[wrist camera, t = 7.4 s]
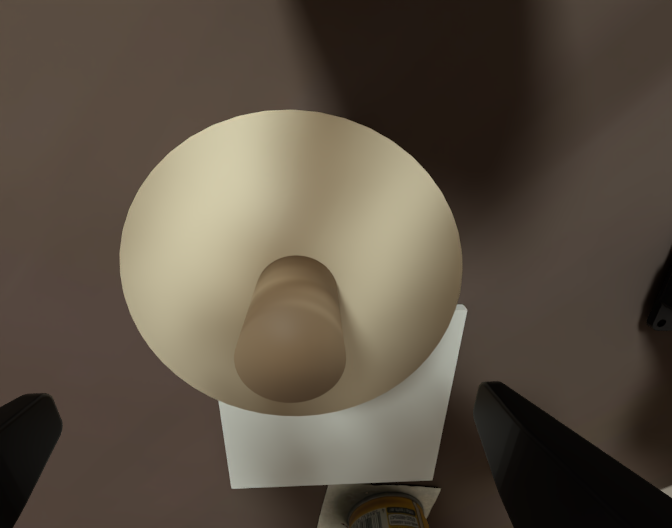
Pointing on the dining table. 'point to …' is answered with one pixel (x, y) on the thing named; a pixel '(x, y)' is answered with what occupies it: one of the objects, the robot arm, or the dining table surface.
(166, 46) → the dining table surface
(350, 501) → the condiment
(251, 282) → the lid
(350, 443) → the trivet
